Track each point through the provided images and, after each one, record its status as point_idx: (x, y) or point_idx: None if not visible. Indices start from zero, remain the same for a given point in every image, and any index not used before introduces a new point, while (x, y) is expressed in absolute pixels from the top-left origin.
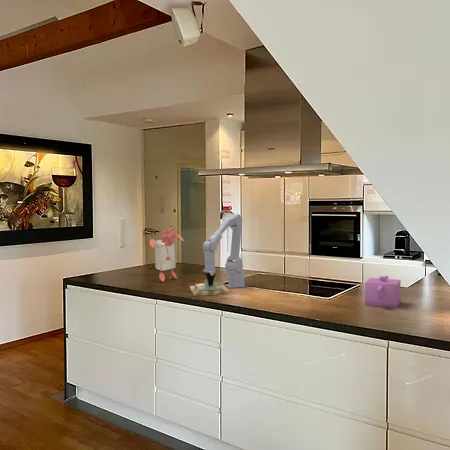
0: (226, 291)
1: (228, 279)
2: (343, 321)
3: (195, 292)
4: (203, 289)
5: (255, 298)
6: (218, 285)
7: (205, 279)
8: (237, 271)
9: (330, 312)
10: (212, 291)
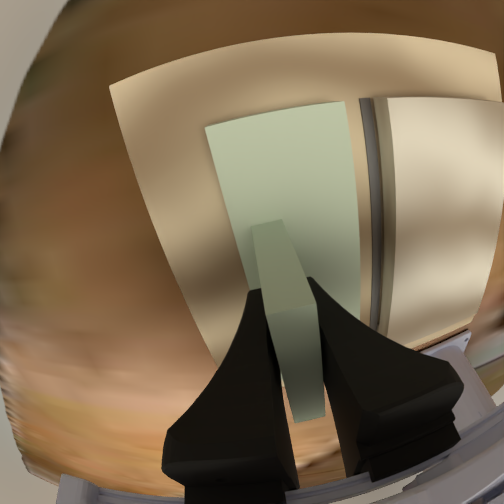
0: None
1: (463, 378)
2: (32, 461)
3: (150, 91)
4: (225, 197)
5: (136, 441)
6: (386, 336)
7: (284, 317)
8: (425, 470)
9: (70, 474)
10: (213, 291)
